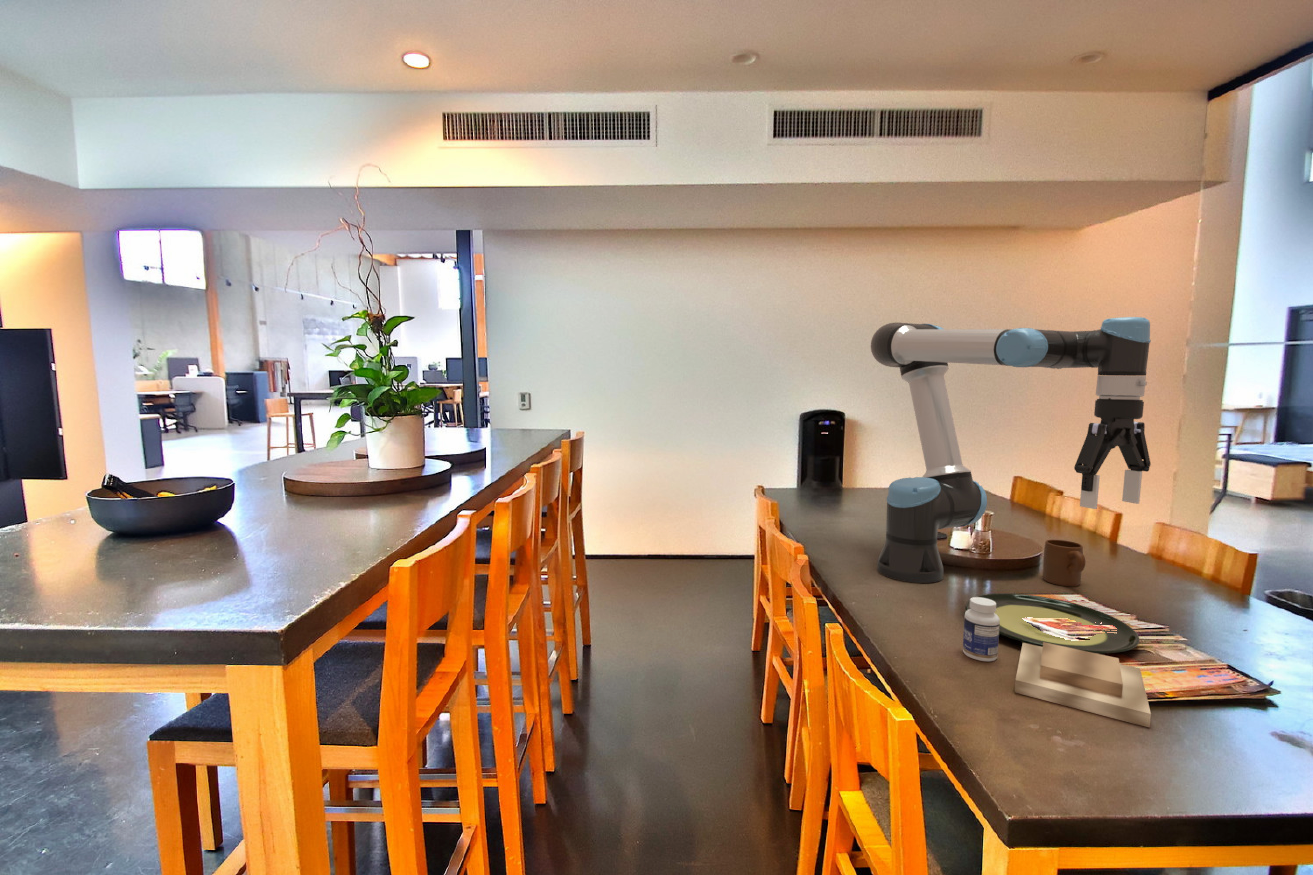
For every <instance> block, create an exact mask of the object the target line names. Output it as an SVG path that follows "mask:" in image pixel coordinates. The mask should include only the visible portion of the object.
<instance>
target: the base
mask: <svg viewBox="0 0 1313 875" xmlns="http://www.w3.org/2000/svg"><path fill="white" fill-rule="evenodd" d="M1018 660H1019V661H1018V665H1017V671H1016V675H1015V680H1014V681H1015V682H1014V693H1016V694H1019V695H1024V696H1027V697H1031V698H1035V699H1039V700H1043V701H1046V702H1051V703H1054V704H1059V705H1062V706H1065V707H1069V708H1074V709H1077V710H1081V711H1085V712H1089V713H1092V714H1096V715H1100V716H1104V717H1108V718H1111V719H1115V720H1120V721H1123V722H1127V723H1130V724H1134V725H1138V726H1142V727H1146V728H1149V729H1150V727H1151V717H1152V713H1151V709H1150V705H1149V699H1148V695H1147V691H1146V688H1145V684H1144V678H1143V675H1142V671H1141V670H1142V669H1141V668H1140V667H1135V666H1130V665H1128V664H1123V663H1120V658H1119V657H1114V656H1109V655H1105V654H1096V653H1091V652H1087V651H1082V650H1077V649H1073V648H1068V647H1064V646H1059V645H1054V644H1050V643H1045V642H1043V647H1040V646H1036V645H1031V644H1027V643H1024V642H1022V646H1021V650H1020V655H1019V659H1018Z"/></svg>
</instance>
